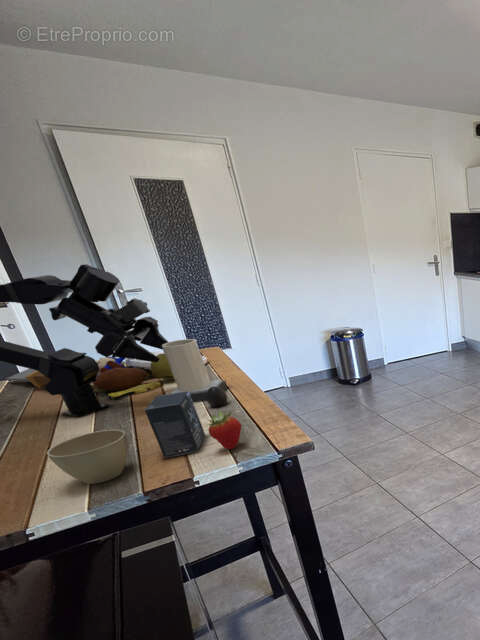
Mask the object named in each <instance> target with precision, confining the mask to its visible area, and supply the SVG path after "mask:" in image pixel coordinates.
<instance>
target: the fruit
mask: <svg viewBox="0 0 480 640" xmlns="http://www.w3.org/2000/svg"><path fill="white" fill-rule="evenodd" d="M223 413H224V414H223ZM231 415H232V412H230V413H227V414H226V412H225V411H221V410H219V411H218V417H217V416H216V415H215V414H213V413H211V415H210V416H211V417H210V418H211V419H207V421H209V422H210V423H208V424H207V426H209V428H208V434H209V435H210V437H211V438H213V439H215V440H216V441H217V442H218V443H219V444H220V445H221V446H222V447H223V448H224V449H226V450H232V449H234V448H236V447H237V445H238V444H239V441H240V437H241V431H242V424H241V422H240V421H239V420H238V419H237V418H235V417H233V416H231Z"/></svg>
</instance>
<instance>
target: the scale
mask: <svg viewBox="0 0 480 640" xmlns="http://www.w3.org/2000/svg"><path fill="white" fill-rule="evenodd" d="M210 381H211V385H210V386H208V387H206V388H203V389H199V390H195V391H189V393H190V395H191V398H192V401H193V403H194V402H202V401H203V402H204V401H207V399H206V394H207V391H208V389H209V388H211V387H213V386H215V387H218V388H220V389H222V390H223V391H224V392H225V391H226V390H227V388H228V384H227V381H226V380H223V379H214V380H210ZM180 392H182V391H179V388H178V387H177V388H175V389H174V390H173V391H172V392H170V393H169V394H174V393H180Z"/></svg>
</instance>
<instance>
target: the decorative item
mask: <svg viewBox="0 0 480 640" xmlns="http://www.w3.org/2000/svg"><path fill="white" fill-rule="evenodd" d="M161 384H162V383H161V382H160V381H155V382H154V381H153V382H148V383H144V384H143V383H142V384H140V385H138V386H136V387H133V388H130V389H127V390H124V391H115V392H111V393H108V394H107V396H108V398H109V399H112V400H119V399H123V398H125V397H127V396H131V395H137V394H140V393H145V392H148V391H151V390H155V389H157V388H159V387H161V386H162V385H161Z"/></svg>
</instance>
